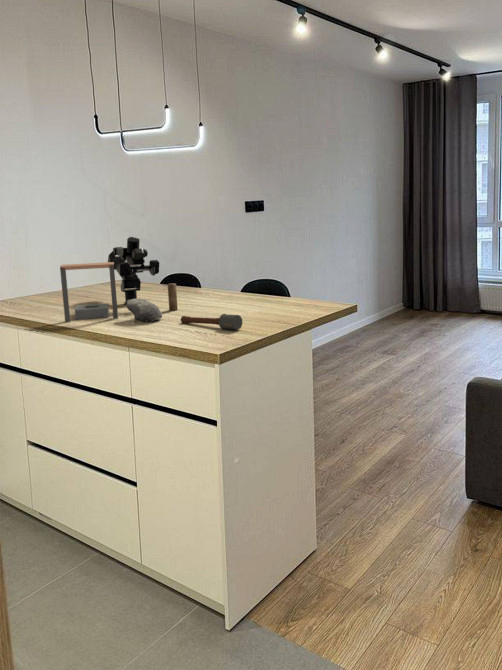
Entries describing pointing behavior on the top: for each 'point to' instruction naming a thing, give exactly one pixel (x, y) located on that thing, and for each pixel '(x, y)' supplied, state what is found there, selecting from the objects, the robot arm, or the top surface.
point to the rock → (143, 310)
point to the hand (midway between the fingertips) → (144, 275)
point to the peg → (172, 297)
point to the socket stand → (90, 309)
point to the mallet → (217, 321)
